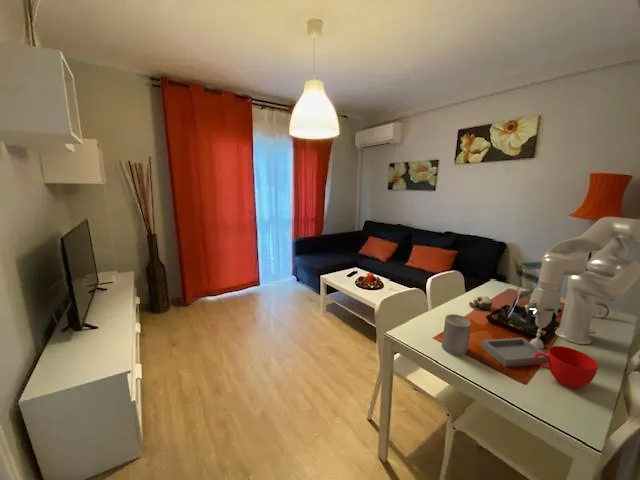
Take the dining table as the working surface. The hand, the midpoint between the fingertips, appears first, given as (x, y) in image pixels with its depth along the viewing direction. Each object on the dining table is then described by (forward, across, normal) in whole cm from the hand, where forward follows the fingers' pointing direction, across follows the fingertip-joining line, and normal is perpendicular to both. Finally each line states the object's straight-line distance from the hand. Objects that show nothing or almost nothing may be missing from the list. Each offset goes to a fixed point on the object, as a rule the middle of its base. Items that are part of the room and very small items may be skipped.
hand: (540, 323), depth 116 cm
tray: (+11, +15, +5) cm, 19 cm away
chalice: (+11, -1, 0) cm, 11 cm away
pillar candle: (+11, +37, -1) cm, 39 cm away
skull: (+11, -1, -36) cm, 37 cm away
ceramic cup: (+11, +10, +20) cm, 25 cm away
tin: (+10, -52, -21) cm, 57 cm away
